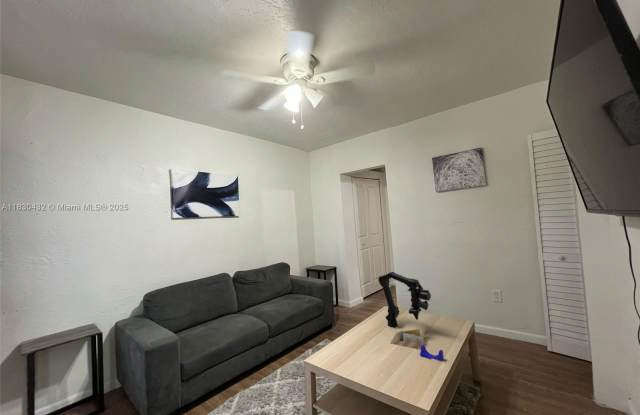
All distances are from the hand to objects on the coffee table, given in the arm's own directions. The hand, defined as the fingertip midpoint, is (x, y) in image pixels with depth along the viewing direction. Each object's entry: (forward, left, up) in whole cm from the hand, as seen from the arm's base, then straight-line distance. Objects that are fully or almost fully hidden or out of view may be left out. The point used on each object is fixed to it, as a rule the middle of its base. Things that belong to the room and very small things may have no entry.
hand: (417, 319), depth 183 cm
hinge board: (-3, -13, -10) cm, 17 cm away
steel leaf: (-1, -15, -10) cm, 18 cm away
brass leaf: (-3, -9, -9) cm, 13 cm away
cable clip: (+13, -28, -11) cm, 33 cm away
